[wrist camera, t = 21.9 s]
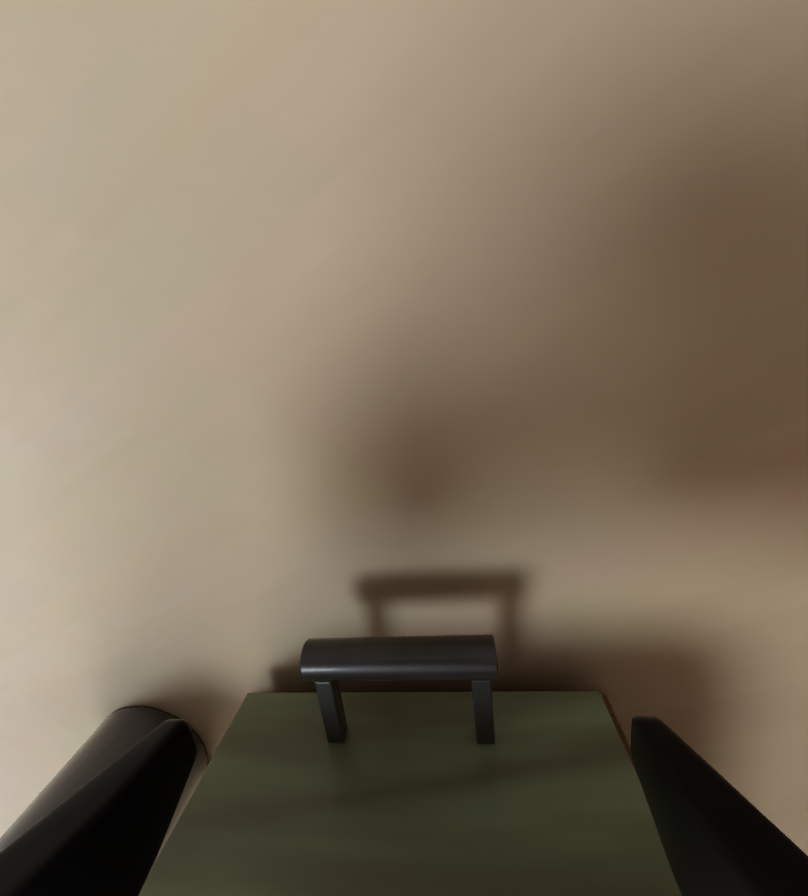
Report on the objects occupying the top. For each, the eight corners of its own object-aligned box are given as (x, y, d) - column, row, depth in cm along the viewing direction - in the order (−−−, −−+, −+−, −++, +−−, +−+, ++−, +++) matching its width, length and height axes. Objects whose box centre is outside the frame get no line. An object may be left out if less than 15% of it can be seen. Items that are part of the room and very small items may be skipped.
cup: (191, 705, 17) (-17, 1008, 9) (220, 792, 18) (60, 1118, 11) (85, 705, 18) (-191, 988, 10) (121, 789, 19) (-97, 1093, 11)
